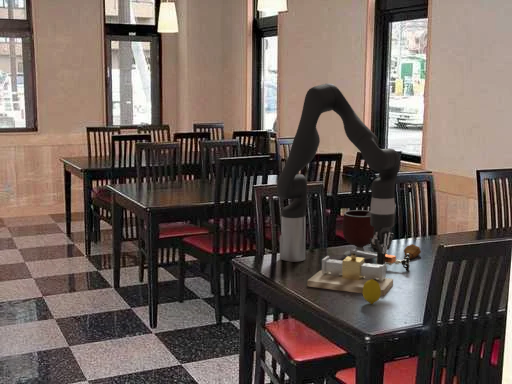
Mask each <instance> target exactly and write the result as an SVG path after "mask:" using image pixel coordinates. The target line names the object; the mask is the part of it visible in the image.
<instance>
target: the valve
mask: <svg viewBox="0 0 512 384" xmlns="http://www.w3.org/2000/svg"><path fill="white" fill-rule="evenodd" d="M375 254H377V253H376V252H375ZM386 254H387V255H388V251H387V252H386ZM406 256H407V257H406ZM406 256H405V257H404V258H403V259H401V260H400V259H398V258H396V262H393V263H388V262H386V270H387V267H388V266H393V265H400V264H401V266H402V267H403V268H404V269H405V271H406V272H410V266H411V265H410V262H411V259H409V258H410V254H407V255H406ZM375 264H377V258H375ZM378 265H379V264H378Z"/></svg>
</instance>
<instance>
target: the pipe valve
mask: <svg viewBox="0 0 512 384" xmlns="http://www.w3.org/2000/svg"><path fill="white" fill-rule="evenodd" d="M365 260H366V259H365V258H359V257H356V254H351V257H349V256H347V257H345V258H344V259H343V260H341V259H340V260H339V259H331V258H330V255H327V256H325V257H323V258H322V259H321V270H322V274H323V275H325V274H326V273H327V272H331V276H337V277H339V276H341V275H342V278H344V279H352V280H360V279H361V278H362V277H363V276H365V280H371V279H373V280H375V279H376V278H379V281H383V280H384V279H385V278H387V277H386V273H387V271H386V265H387V264H386V262H385V264H383V265H378V264H376V263H366V262H365Z"/></svg>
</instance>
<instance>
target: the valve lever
mask: <svg viewBox="0 0 512 384" xmlns="http://www.w3.org/2000/svg"><path fill="white" fill-rule="evenodd" d="M349 251H350V254H358V255H363V256H368V257H373V258H372V259H376V258H377V254H376V253H375V254H373V253H368V252H363V251H358V250H357V249H356V248H351V249H349ZM396 259H397V256H396V255H392V254H388V253H387V254H386V255H385V262H388V263H393V262H396Z"/></svg>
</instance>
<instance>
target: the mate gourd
mask: <svg viewBox="0 0 512 384" xmlns="http://www.w3.org/2000/svg"><path fill="white" fill-rule="evenodd" d="M370 218H371V210H365V209H364V210H363V209H354V210H347V211H344V212H343V218H342V225H341V226H342V235H343V238H344V239H345V242H347V243H348V244H350V245H352V246H355V249H357V250H358V251H363V252H368V253H373V254H376V252H374V251H370V250H365V249H364V247H367V246H368V245H371V244H370V238H372V239H373V237H374V234H373V233H374V227H373V226H371V224H370ZM343 255H344V257H345V258H346V257H347V256H349V257H351V254H350V250H346V251H345V252H344V254H343ZM356 257H359V258H365V260H370V259H374V258H373V257H368V256H363V255H358V254H356Z"/></svg>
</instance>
